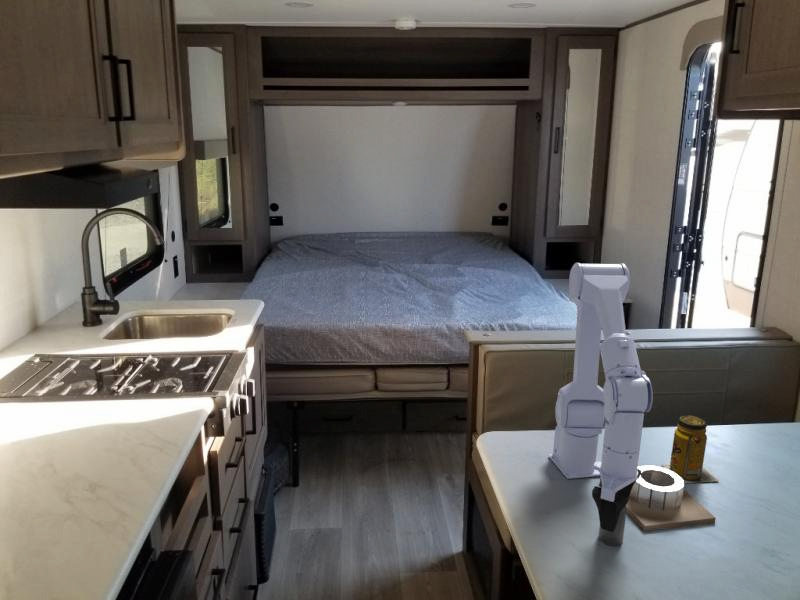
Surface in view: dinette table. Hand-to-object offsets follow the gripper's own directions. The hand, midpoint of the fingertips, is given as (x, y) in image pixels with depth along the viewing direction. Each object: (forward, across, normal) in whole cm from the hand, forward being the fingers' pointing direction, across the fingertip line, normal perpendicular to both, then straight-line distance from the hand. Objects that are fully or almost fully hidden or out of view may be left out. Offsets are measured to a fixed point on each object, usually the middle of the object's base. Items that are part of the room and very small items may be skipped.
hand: (613, 517), depth 108 cm
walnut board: (+4, -16, +4) cm, 17 cm away
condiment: (+4, -31, +8) cm, 32 cm away
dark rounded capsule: (+4, 0, 0) cm, 4 cm away
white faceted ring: (+4, -16, +4) cm, 17 cm away
